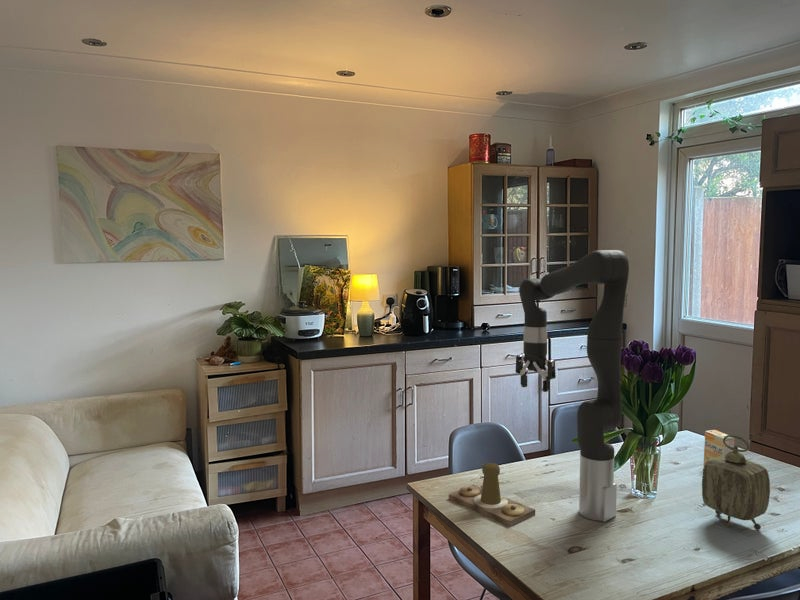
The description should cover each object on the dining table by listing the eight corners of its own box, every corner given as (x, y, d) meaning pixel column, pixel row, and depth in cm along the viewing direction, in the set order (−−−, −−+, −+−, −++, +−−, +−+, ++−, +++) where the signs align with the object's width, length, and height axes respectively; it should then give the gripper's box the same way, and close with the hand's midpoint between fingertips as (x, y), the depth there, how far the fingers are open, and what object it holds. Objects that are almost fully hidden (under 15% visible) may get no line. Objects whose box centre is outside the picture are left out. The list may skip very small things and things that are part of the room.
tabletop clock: (768, 531, 159) (772, 440, 157) (749, 540, 154) (754, 446, 152) (715, 511, 171) (718, 426, 169) (696, 518, 167) (700, 431, 164)
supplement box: (702, 467, 205) (703, 430, 204) (713, 466, 206) (715, 429, 205) (722, 476, 197) (723, 437, 196) (733, 474, 198) (735, 436, 197)
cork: (499, 495, 179) (499, 460, 178) (502, 504, 172) (503, 468, 171) (479, 496, 178) (479, 460, 177) (482, 504, 172) (482, 468, 171)
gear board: (535, 514, 170) (535, 504, 170) (510, 526, 163) (510, 516, 163) (473, 489, 188) (473, 480, 188) (448, 498, 181) (448, 489, 181)
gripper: (510, 338, 196) (510, 387, 197) (546, 343, 185) (545, 395, 186) (525, 336, 200) (524, 383, 202) (560, 341, 190) (560, 391, 191)
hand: (534, 389), depth 194 cm, fingers open, 8 cm apart
